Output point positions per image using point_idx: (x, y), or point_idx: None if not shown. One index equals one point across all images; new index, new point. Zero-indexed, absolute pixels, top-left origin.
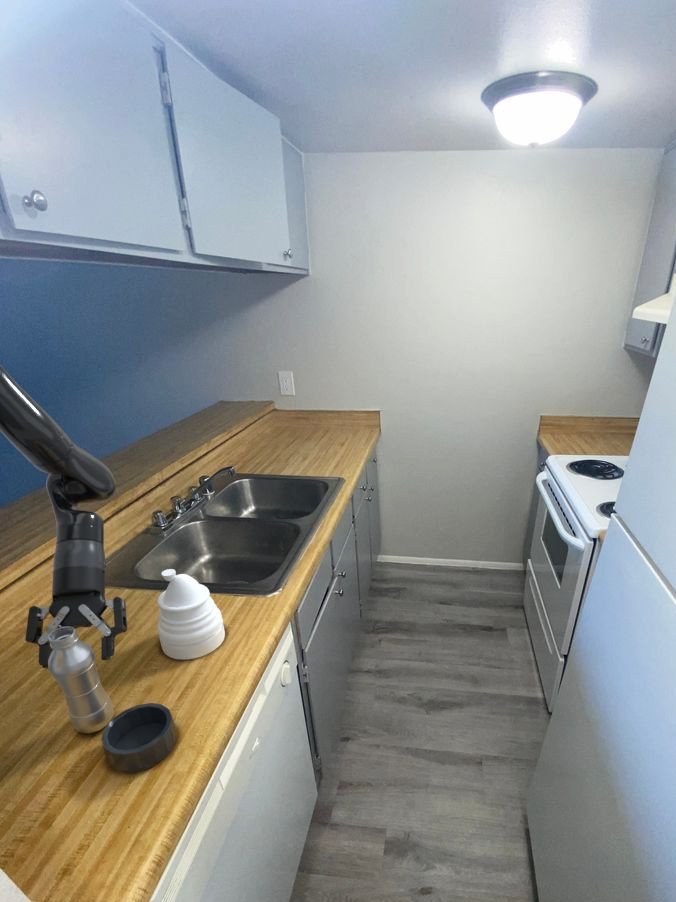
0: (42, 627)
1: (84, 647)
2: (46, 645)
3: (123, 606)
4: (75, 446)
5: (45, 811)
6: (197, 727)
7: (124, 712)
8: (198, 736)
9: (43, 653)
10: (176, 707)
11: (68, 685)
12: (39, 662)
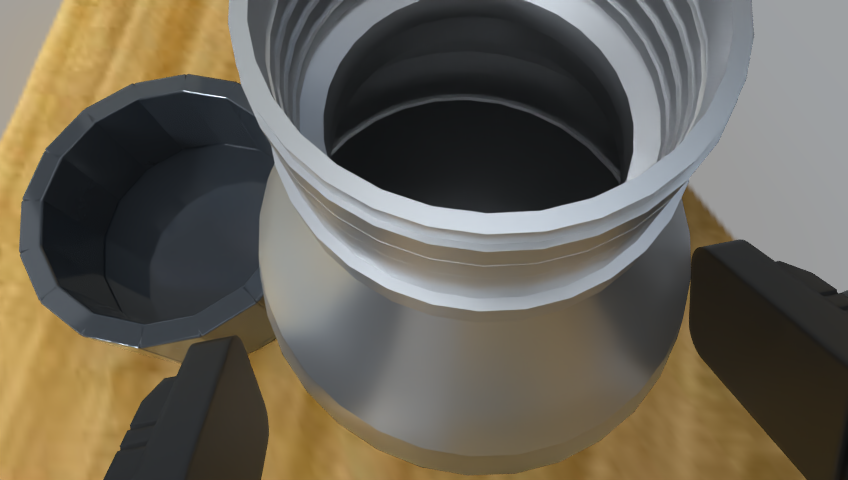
0: None
1: (287, 240)
2: None
3: None
4: None
5: None
6: (16, 323)
7: (252, 287)
8: (9, 277)
9: (817, 298)
10: (119, 448)
11: (450, 160)
12: (800, 272)
